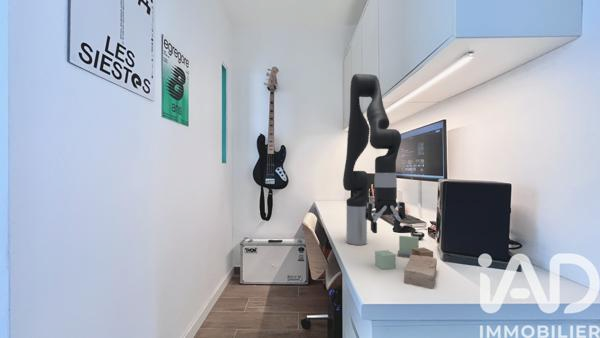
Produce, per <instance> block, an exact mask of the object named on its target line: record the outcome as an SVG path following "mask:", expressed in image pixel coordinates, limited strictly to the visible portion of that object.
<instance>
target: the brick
mask: <svg viewBox="0 0 600 338" xmlns="http://www.w3.org/2000/svg"><path fill="white" fill-rule="evenodd" d="M437 263H438V260H437V258H436V257H434V256H433V257H429V256H418V255H410V258H408V261H407V262H406V264H405V267H404V270H403V273H404V274H403V275H404V276H403V278H404V279H403V282H404V283H405V284H407V285H411V286H417V287H421V288H425V289H429V290H430V289H434V286H435V279H436V273H437V265H438V264H437Z"/></svg>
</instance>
